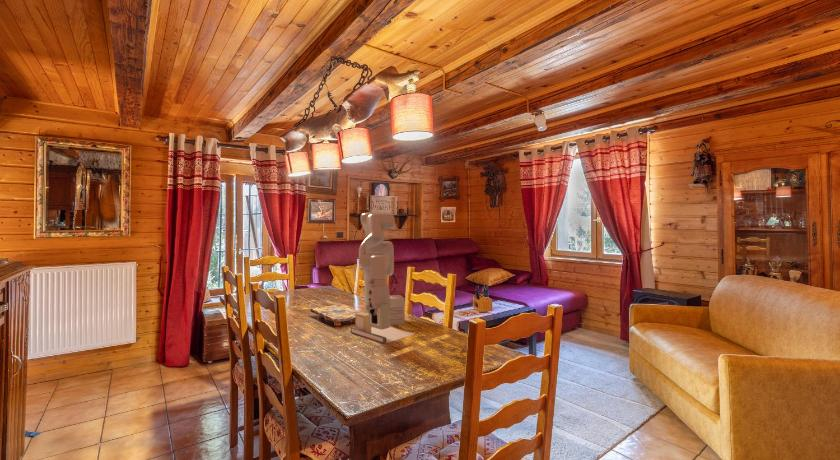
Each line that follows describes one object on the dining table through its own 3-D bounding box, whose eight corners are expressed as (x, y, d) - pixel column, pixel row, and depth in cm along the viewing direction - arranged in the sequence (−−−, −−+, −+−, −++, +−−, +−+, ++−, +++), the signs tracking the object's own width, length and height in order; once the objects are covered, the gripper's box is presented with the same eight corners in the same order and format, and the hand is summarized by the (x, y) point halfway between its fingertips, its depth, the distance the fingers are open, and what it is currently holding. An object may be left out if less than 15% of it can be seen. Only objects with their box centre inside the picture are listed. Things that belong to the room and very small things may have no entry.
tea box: (376, 324, 185) (376, 300, 185) (389, 327, 179) (389, 303, 178) (368, 326, 182) (368, 302, 181) (381, 329, 176) (381, 305, 175)
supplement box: (384, 323, 209) (383, 295, 208) (400, 322, 211) (400, 294, 211) (387, 328, 200) (387, 299, 199) (405, 326, 203) (404, 297, 202)
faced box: (362, 330, 192) (361, 311, 192) (371, 333, 187) (371, 314, 187) (355, 332, 189) (355, 313, 189) (364, 335, 184) (364, 316, 184)
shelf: (381, 327, 202) (381, 319, 202) (414, 336, 186) (414, 328, 186) (350, 335, 188) (350, 327, 188) (384, 347, 172) (384, 338, 172)
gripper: (369, 285, 171) (369, 327, 171) (397, 280, 183) (398, 319, 184) (358, 283, 176) (358, 324, 177) (386, 279, 188) (387, 317, 189)
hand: (378, 321), depth 180 cm, fingers closed on tea box, 4 cm apart
